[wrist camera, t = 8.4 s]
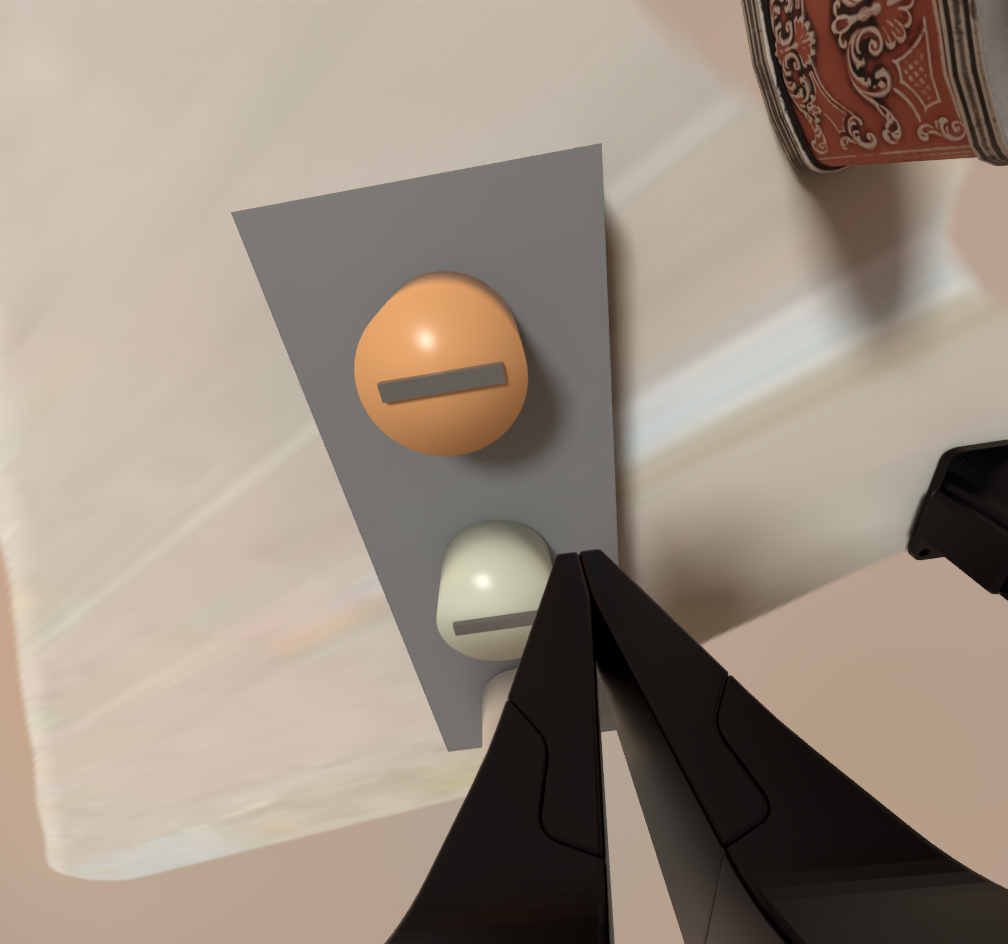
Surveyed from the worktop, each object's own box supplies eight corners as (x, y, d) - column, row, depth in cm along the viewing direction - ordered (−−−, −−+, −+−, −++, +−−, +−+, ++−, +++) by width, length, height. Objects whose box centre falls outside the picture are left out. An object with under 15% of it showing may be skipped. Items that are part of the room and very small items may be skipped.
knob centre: (535, 465, 21) (554, 570, 15) (545, 541, 23) (566, 656, 18) (438, 480, 21) (422, 589, 15) (458, 554, 23) (450, 672, 18)
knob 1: (503, 245, 16) (515, 276, 11) (520, 366, 19) (538, 446, 13) (380, 267, 17) (326, 309, 11) (412, 384, 19) (381, 470, 13)
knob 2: (555, 606, 26) (576, 726, 20) (562, 657, 28) (583, 779, 22) (475, 617, 26) (473, 739, 20) (489, 667, 28) (491, 790, 22)
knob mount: (577, 152, 15) (601, 143, 12) (610, 673, 29) (625, 728, 26) (278, 208, 16) (230, 212, 13) (451, 694, 30) (448, 751, 27)
